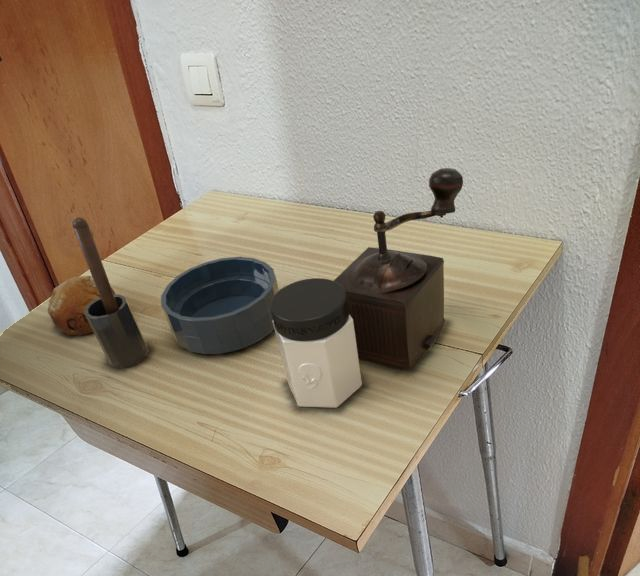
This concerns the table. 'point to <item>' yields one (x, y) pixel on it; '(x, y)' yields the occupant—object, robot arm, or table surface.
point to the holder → (117, 333)
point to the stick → (95, 264)
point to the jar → (316, 342)
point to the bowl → (221, 305)
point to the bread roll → (73, 304)
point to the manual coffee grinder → (400, 288)
